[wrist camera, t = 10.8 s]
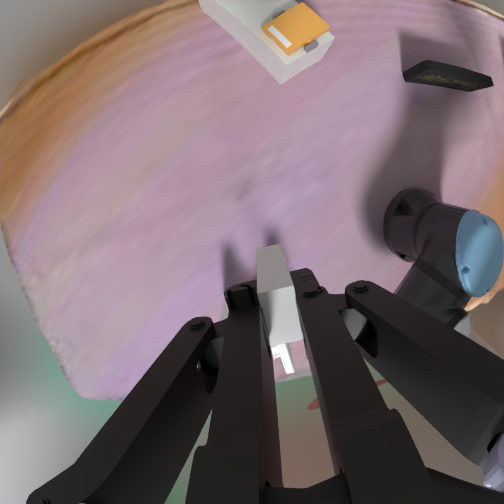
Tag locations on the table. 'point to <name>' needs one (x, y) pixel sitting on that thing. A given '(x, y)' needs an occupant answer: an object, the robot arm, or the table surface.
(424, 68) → the nameplate
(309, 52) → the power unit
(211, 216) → the table surface
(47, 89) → the table surface
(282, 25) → the rocker orange
